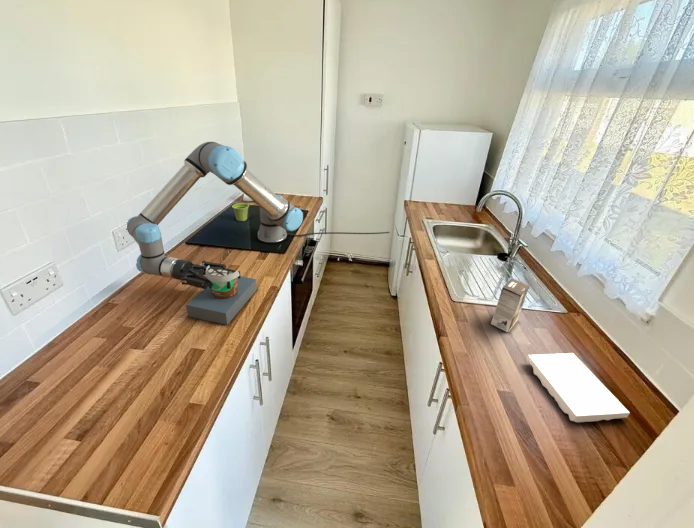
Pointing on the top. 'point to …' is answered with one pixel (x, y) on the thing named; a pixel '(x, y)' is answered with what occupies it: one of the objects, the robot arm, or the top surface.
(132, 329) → the top surface
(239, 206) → the plant pot
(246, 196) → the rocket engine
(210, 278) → the food container
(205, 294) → the grey rectangular block
